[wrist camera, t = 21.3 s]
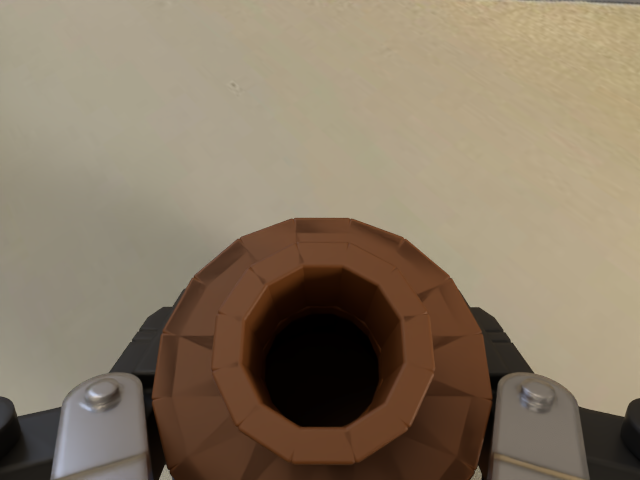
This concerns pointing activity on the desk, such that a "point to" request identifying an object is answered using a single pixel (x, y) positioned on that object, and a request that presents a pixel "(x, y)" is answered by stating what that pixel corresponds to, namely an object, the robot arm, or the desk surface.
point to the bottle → (321, 362)
